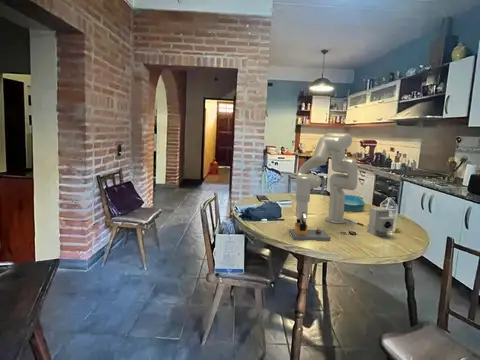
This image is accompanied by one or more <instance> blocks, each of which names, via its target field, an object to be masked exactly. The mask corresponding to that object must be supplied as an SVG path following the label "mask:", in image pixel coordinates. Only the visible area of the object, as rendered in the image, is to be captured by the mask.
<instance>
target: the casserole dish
mask: <svg viewBox="0 0 480 360" xmlns="http://www.w3.org/2000/svg"><path fill="white" fill-rule="evenodd" d="M365 205H366V202H365V201H364V199H363V198H362V197H361V196H359V195H352V194H347V193H346V194H345V203H344V212H351V213H352V212H353V213H359V212H362V211H363V209H364V208H365Z"/></svg>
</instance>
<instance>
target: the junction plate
mask: <svg viewBox="0 0 480 360" xmlns="http://www.w3.org/2000/svg"><path fill="white" fill-rule="evenodd" d="M294 230H295V228H289V234H290V233H291V234H290V235H292V236H291V238H292V237H293V238H292V239H295V240H294V241H304V240H316V242H320V241H321V242H331V236H330V235H329V234H328V233H327V231H325V230H324V229H321V227H320V226H317V227H316V229H307V235H298V234H296V233H295V231H294Z"/></svg>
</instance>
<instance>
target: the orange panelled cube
mask: <svg viewBox="0 0 480 360" xmlns="http://www.w3.org/2000/svg"><path fill="white" fill-rule="evenodd" d="M300 224H301V223H297V222H295V223H294V229H295V230H294V231H295V233H296V234H298V235H307V229H308V227H309V226H308V224H307V223H306V231H300Z"/></svg>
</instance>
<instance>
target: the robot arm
mask: <svg viewBox="0 0 480 360" xmlns="http://www.w3.org/2000/svg"><path fill="white" fill-rule="evenodd" d="M352 143H353V137H352V135H351V134H349V133H347V132H346V133H345V132H326V133H324V135H323V136H322V137H319V140H318V142H317V144H316V148H315V149H314V152H313V154H312V156H311V157H310V158H308V160H306V161H305V162H304V163H303V164H301V166H300V167H299V169H298V171H297V174H296V177H295V183H296V188H295V190H296V191H295V201H296V204H295V205H296V207H295V214H294V215H295V217H296V223H301V224H300V231H306V224H307V219H308V209H309V206H308V205H309V204H308V203H309V202H311V201H310V200H311V189H318V188H319V187H320V186H321V184H322V178H321V177H320V176H319V175H315V174H310V173H308V172H309V171H310V170H312V169H315V168H319V167H320V166H324V165H325V164H326V163H327V161H328V158H329V155H330V154H331V155H330V157H331V163H330V164H331V169H332V171H333V172H334V173H332V174H331V175H330V177H329V193H330V194H329V203H328V217H327V216H326V217H325V221H326V222H328V223H332V224H344V223H346V219H345V218H344V214H345V213H344V212H345V211H344V203H345V191H344V190H348V191H354V190H357V189H356V188H357V186H358V181H359V179H358V176H359V175H358V173H359V172H358V170H359V169H358V162H357V160H356V159H354V158H349V157H346V149H348V148H350V147H351V146H352ZM335 172H336V173H335Z"/></svg>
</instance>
